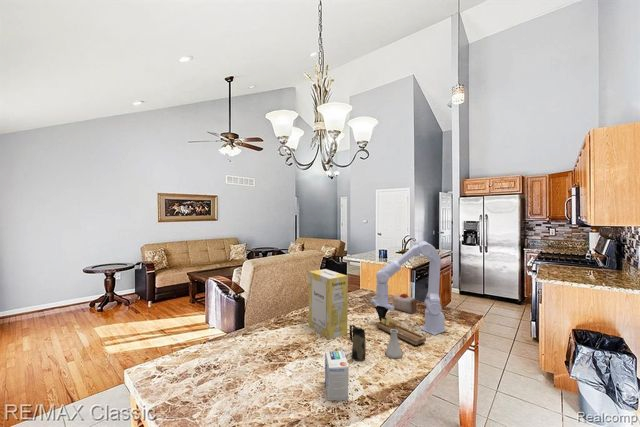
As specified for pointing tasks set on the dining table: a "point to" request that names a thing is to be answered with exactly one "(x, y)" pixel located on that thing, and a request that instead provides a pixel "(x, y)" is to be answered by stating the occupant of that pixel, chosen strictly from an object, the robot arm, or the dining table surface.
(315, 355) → the dining table surface
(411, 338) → the brown rectangular tray
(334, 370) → the light bulb box
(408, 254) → the robot arm
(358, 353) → the mug
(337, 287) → the pasta box
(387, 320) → the yellow block
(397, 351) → the flask
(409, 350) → the dining table surface
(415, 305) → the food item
